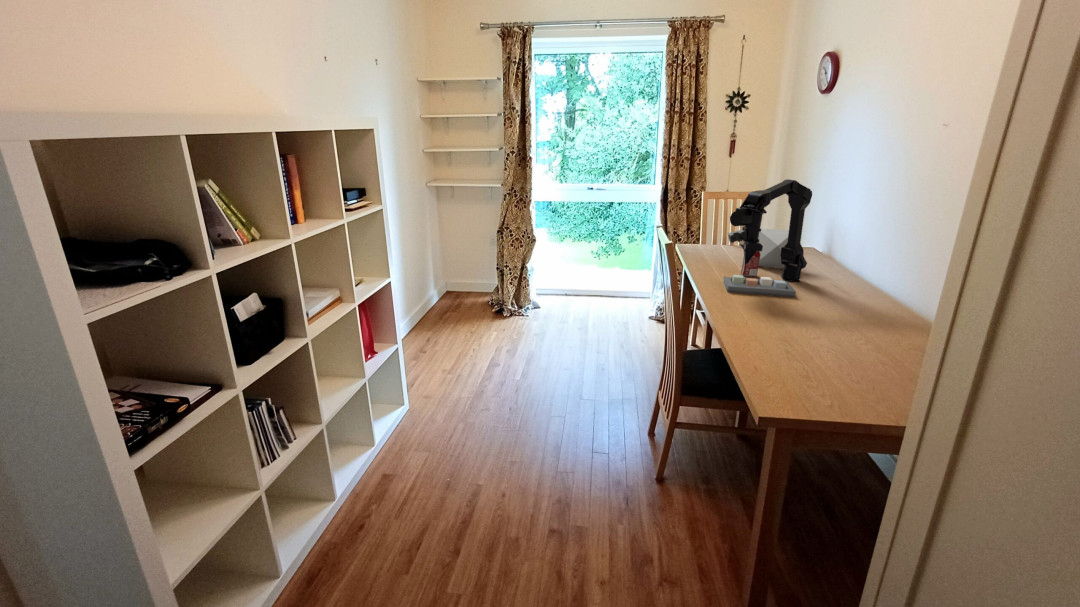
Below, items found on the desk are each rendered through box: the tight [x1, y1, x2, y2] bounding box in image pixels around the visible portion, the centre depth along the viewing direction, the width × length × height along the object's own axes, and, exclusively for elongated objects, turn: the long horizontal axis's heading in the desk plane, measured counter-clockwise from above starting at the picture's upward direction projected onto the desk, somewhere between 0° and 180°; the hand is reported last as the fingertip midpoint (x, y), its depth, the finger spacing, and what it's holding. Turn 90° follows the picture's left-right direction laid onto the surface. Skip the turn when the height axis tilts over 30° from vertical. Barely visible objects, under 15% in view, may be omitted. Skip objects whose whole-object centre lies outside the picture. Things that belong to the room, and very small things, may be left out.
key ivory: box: [759, 276, 774, 286], centre depth 206 cm, size 4×4×3 cm
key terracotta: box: [745, 277, 758, 287], centre depth 207 cm, size 4×4×3 cm
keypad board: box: [722, 276, 797, 298], centre depth 207 cm, size 25×14×2 cm, turn 78°
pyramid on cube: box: [758, 228, 789, 270], centre depth 239 cm, size 17×24×18 cm
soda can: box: [740, 251, 760, 278], centre depth 225 cm, size 7×7×12 cm
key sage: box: [731, 274, 745, 284], centre depth 208 cm, size 4×4×3 cm
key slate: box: [773, 279, 787, 289], centre depth 205 cm, size 4×4×3 cm
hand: (745, 263), depth 205 cm, fingers closed
